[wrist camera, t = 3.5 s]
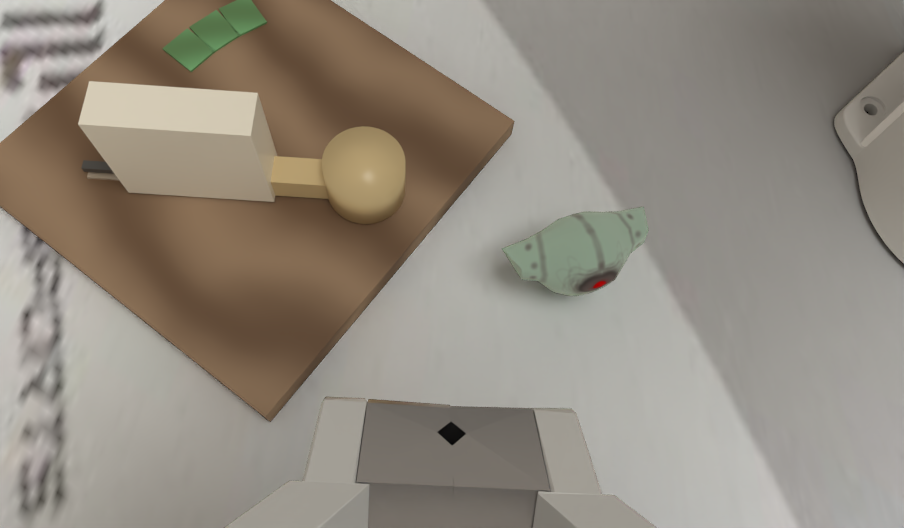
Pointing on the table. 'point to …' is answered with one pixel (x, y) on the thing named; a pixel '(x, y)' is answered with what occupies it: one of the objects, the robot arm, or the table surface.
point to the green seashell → (580, 250)
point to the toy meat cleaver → (233, 151)
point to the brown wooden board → (244, 221)
